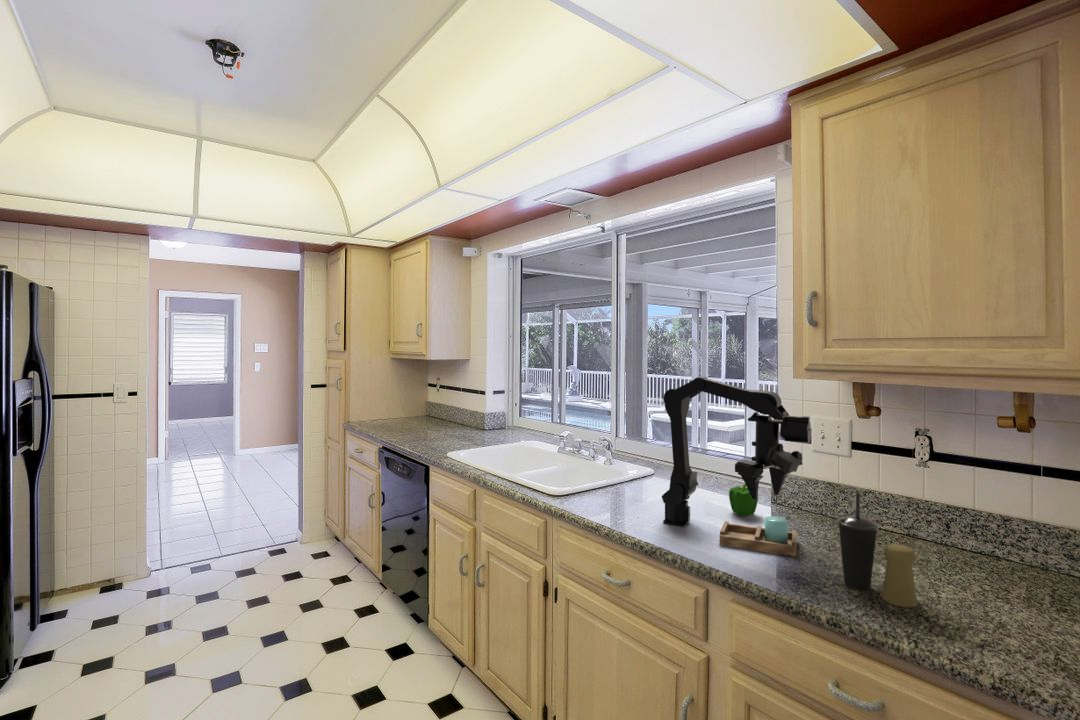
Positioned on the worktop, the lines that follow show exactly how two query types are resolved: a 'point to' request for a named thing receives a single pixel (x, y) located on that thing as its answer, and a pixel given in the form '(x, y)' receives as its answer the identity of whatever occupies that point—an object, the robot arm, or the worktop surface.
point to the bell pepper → (742, 501)
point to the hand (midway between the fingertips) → (765, 496)
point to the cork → (899, 576)
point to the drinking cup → (857, 548)
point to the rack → (755, 539)
